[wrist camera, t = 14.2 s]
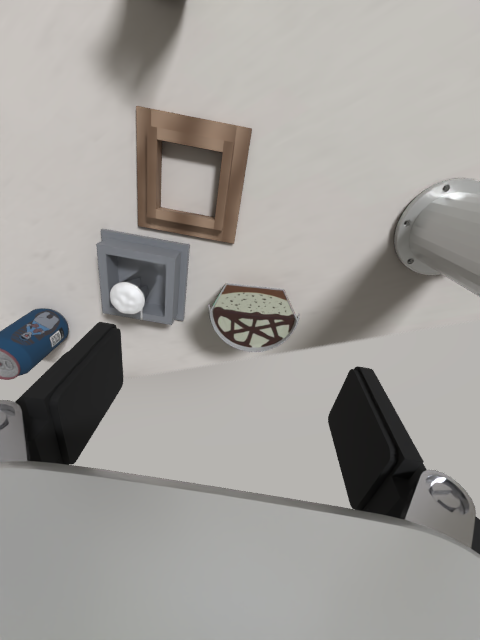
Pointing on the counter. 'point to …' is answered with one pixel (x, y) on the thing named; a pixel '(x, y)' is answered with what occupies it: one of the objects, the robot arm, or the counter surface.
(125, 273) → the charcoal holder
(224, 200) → the walnut dock
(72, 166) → the counter surface
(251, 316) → the food container
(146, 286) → the milkshake
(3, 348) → the soda can
